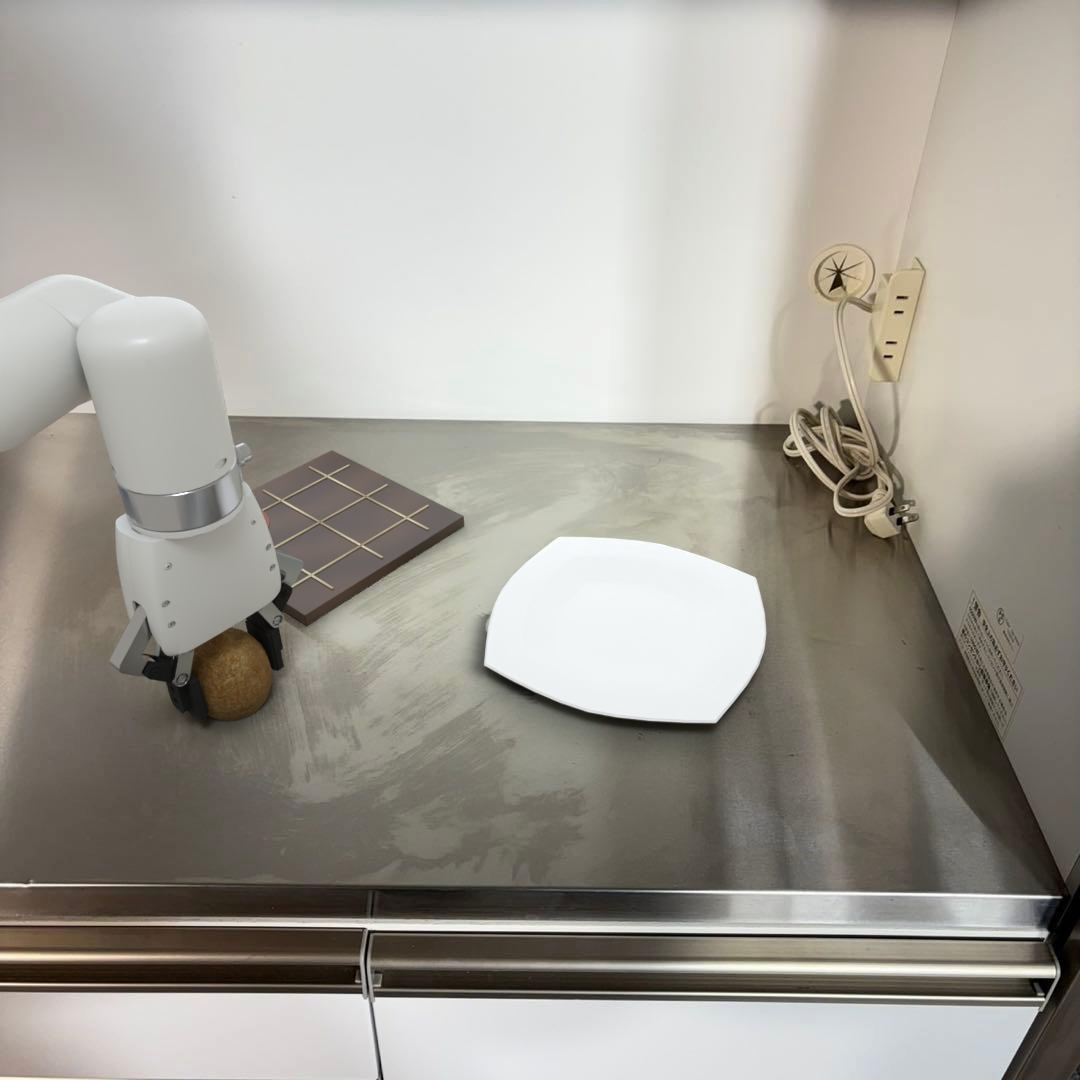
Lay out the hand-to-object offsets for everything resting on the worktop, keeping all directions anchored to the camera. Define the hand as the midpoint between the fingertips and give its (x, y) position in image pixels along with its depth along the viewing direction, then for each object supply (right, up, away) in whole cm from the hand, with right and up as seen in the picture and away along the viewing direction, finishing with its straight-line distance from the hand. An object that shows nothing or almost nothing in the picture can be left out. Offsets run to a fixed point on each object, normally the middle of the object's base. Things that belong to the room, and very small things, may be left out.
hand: (231, 684), depth 74 cm
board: (+2, +12, +21) cm, 25 cm away
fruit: (0, -3, +2) cm, 3 cm away
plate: (+31, +3, +9) cm, 33 cm away
